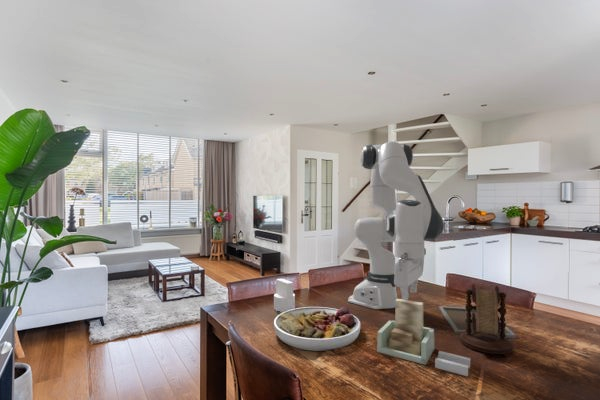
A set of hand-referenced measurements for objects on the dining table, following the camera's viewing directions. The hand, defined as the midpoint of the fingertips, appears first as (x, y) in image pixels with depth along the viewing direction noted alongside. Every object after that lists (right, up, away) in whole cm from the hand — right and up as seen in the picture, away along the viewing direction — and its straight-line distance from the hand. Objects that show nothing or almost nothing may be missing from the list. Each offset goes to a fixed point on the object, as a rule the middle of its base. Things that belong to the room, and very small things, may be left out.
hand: (409, 295), depth 102 cm
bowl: (-28, -18, +12) cm, 35 cm away
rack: (-2, -17, -2) cm, 17 cm away
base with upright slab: (-41, -17, +38) cm, 59 cm away
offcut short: (-3, -13, -2) cm, 13 cm away
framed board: (+33, -18, +25) cm, 45 cm away
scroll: (+25, -17, +2) cm, 30 cm away
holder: (+8, -17, -12) cm, 22 cm away
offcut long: (-2, -16, -3) cm, 16 cm away
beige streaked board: (0, -16, 0) cm, 16 cm away
